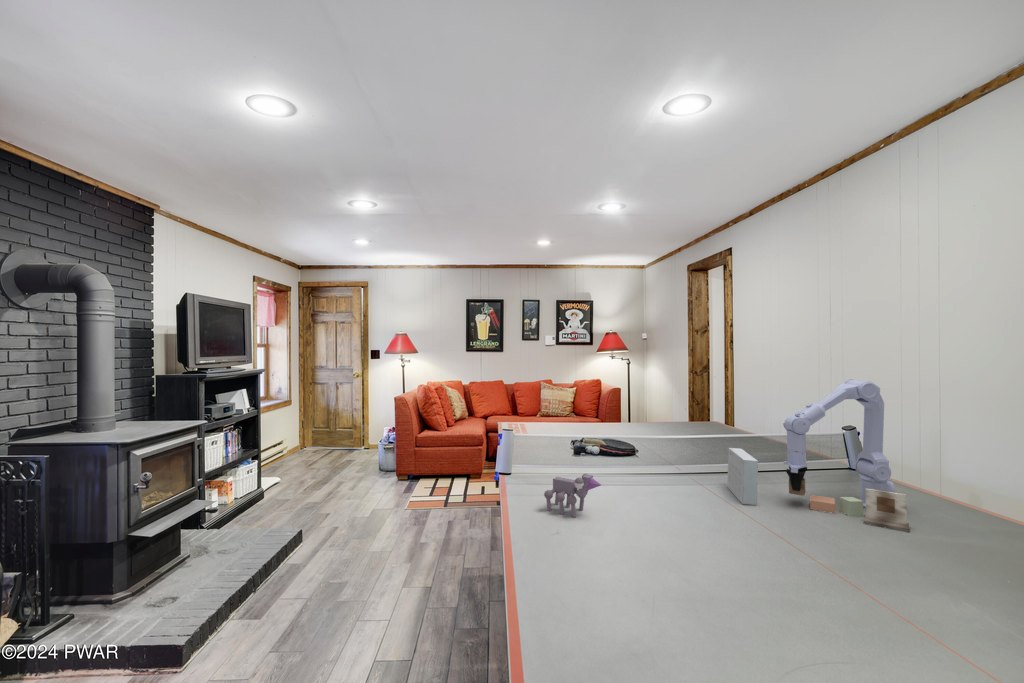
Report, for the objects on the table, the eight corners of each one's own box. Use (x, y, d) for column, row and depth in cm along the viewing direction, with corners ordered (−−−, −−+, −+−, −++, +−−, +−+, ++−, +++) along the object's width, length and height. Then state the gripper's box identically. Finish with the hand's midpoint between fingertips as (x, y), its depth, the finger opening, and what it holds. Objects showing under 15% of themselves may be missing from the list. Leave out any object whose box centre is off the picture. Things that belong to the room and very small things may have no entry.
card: (908, 526, 143) (908, 493, 143) (909, 532, 138) (909, 499, 138) (864, 518, 150) (863, 487, 150) (863, 523, 145) (863, 491, 145)
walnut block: (790, 490, 166) (790, 476, 167) (805, 492, 164) (805, 478, 164) (789, 493, 163) (788, 479, 163) (803, 495, 160) (803, 481, 160)
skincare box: (759, 505, 162) (758, 460, 162) (742, 504, 163) (741, 459, 163) (741, 487, 183) (741, 447, 183) (727, 487, 184) (726, 447, 184)
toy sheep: (609, 513, 155) (607, 473, 155) (595, 525, 146) (594, 483, 146) (557, 502, 167) (556, 465, 166) (541, 512, 158) (540, 473, 158)
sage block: (852, 511, 156) (852, 496, 156) (863, 516, 151) (863, 501, 151) (839, 511, 156) (839, 497, 156) (850, 516, 151) (849, 501, 151)
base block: (810, 504, 164) (810, 494, 164) (834, 508, 160) (834, 498, 160) (810, 510, 158) (810, 500, 158) (835, 514, 154) (835, 504, 154)
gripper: (786, 445, 172) (787, 481, 172) (780, 452, 160) (781, 491, 160) (808, 447, 167) (809, 485, 167) (804, 455, 156) (805, 495, 156)
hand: (797, 488), depth 163 cm, fingers closed on walnut block, 4 cm apart
